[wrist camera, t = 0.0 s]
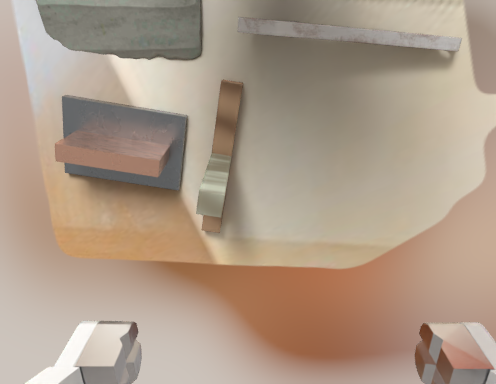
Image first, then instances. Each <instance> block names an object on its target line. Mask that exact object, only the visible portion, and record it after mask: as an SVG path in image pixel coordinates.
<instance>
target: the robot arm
mask: <svg viewBox="0 0 496 384" xmlns="http://www.w3.org/2000/svg"><path fill="white" fill-rule="evenodd" d="M137 334H138V328H137V324H136V323H135V322H122V321H82V322H81V323H80V324H79V325H78V326H77V328H76V330H75V331H74V333H73V335H72V336H71V338H70V340H69V342H68V343H67V345H66V347H65V348H64V350H63V352H62V353H61V355H60V357H59V359H58V360H57V362H56V364H55V365H54V367H48V368H46V369H45V370H43V371H42V372H40V373H39V374H38V375H36V376H35V377H33V378H32V379H30V380H29V381H28V382H26V383H25V384H131V383H133V382H134V381H135V380H136V379H137V376H138V373H139V370H140V364H141V345H140V343H139V342H138V341H137V340H136V337H137ZM419 334H420V336H421V338H422V341H421V342H420V343H419V344H417V345H416V350H415V364H416V368H417V371H418V374H419V376H420V379H421V381H422V382H424V383H425V384H496V342H495V341H494V339H493V338H492V337H491V335H490V334H489V333H488V331H487V330H486V329H485V328H484V326H483V325H482V324H480V323H479V322H478V323H477V322H470V323H469V322H467V323H465V322H464V323H423V324H422V326H421V328H420V332H419Z"/></svg>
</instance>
